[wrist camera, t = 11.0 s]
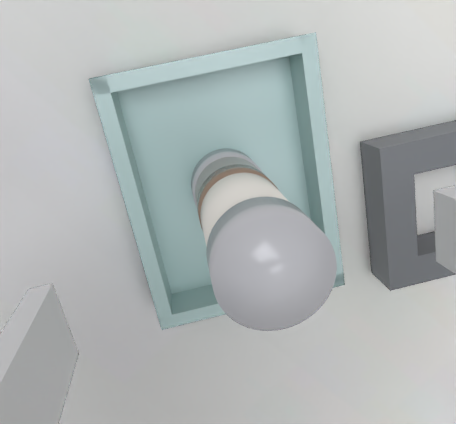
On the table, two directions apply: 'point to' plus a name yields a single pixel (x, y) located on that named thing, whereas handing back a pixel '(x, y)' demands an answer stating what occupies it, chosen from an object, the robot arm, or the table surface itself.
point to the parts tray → (209, 141)
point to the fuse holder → (403, 202)
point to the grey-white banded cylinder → (259, 245)
